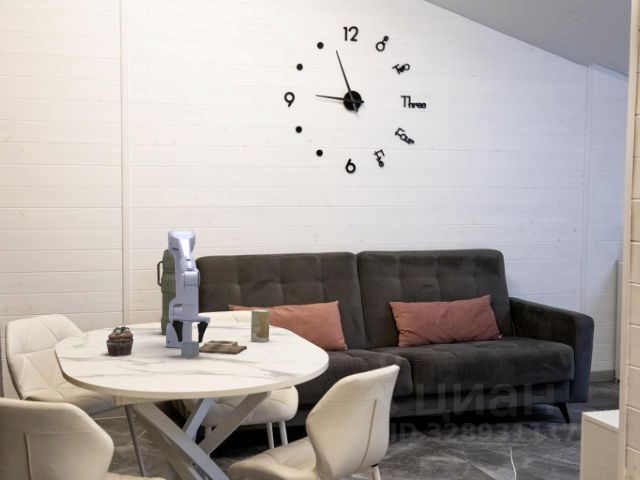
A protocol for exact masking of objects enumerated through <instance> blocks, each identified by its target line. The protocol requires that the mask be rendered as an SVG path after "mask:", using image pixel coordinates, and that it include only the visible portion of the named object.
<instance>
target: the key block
mask: <svg viewBox="0 0 640 480" xmlns="http://www.w3.org/2000/svg"><path fill="white" fill-rule="evenodd" d="M199 347H200V343H198V340H192V341H187V342H185V343H182V344H181V348H180V350H181V351H180V352H181V353H180V357H181V359H194V358H195V357H197V356H199V355H200V353H199Z"/></svg>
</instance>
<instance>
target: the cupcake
mask: <svg viewBox="0 0 640 480" xmlns="http://www.w3.org/2000/svg"><path fill="white" fill-rule="evenodd" d="M107 337H108V339H107V340H105V343H106V349H107V353H108V355H109V356H111V357H123V356H129V355H131V353H132V349H133V345H134V338H133V337H134V334H133V333H132V332H131V329H130V327H127V326H125V325H123V326H121V327H120V326H115V328H114V329H113V330H112V332H111V333H109V334H108V336H107Z"/></svg>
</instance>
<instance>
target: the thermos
mask: <svg viewBox="0 0 640 480" xmlns="http://www.w3.org/2000/svg"><path fill="white" fill-rule="evenodd" d="M162 253H163V254H162V255H163V256H162V260H160V261H158V262H157V264H156V276H157V277H156V278H157V281H156V282H157V283H156V284H157V285H158V286H159V287H160V291H161V292H160V293H161V309H162V310H161V311H162V312H161V320H160V328H161V335H162V336H166V327H167V324H168V323H172V322H170V321H169V304H170V302H171V301H172V300H173V299H174V298H176V279H175V259H174V255H173V254H171V253H169V250H168V248H165V250H164V251H163V252H162ZM161 265H162V266H161ZM161 268H162V271H161ZM161 272H162V275H161ZM175 306H182V305H175Z"/></svg>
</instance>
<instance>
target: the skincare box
mask: <svg viewBox="0 0 640 480" xmlns="http://www.w3.org/2000/svg"><path fill="white" fill-rule="evenodd" d="M270 314H271V310H270V309H269V310H268V309H267V310H266V309H253V310H251V317H250V318H251V324H250V329H251V330H250V341H251V342H258V343H259V342H260V343H266V342H269V341H270V319H271V318H270V317H271V315H270Z"/></svg>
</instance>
